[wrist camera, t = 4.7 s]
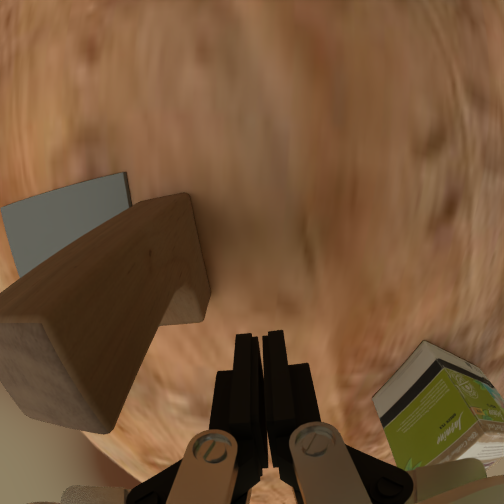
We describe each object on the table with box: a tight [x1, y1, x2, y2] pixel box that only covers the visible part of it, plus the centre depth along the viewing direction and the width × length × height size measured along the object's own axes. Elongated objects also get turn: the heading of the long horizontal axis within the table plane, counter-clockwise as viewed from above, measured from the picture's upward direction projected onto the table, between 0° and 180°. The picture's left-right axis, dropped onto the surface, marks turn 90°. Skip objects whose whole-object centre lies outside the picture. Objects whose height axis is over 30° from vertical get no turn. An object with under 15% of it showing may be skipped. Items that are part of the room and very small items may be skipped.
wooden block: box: [0, 193, 211, 434], centre depth 15 cm, size 9×4×18 cm, turn 9°
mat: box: [1, 172, 132, 278], centre depth 24 cm, size 16×14×1 cm
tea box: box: [372, 341, 504, 471], centre depth 23 cm, size 15×10×15 cm, turn 62°
